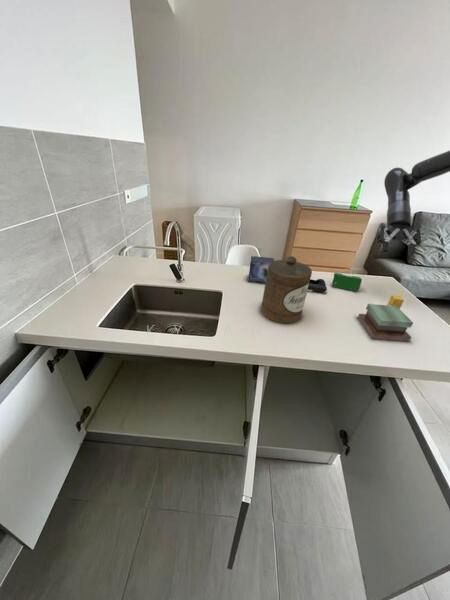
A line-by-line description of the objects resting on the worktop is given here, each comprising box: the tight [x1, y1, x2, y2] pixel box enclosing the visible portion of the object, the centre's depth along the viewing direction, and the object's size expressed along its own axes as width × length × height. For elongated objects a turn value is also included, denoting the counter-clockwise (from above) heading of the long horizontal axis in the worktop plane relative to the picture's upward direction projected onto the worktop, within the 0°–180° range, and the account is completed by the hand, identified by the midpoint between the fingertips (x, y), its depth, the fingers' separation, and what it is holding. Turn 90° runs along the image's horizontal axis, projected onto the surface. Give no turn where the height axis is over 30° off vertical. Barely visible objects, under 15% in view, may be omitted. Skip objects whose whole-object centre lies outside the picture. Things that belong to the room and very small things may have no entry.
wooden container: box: [260, 255, 313, 324], centre depth 86 cm, size 15×15×22 cm
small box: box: [247, 255, 275, 284], centre depth 111 cm, size 11×6×10 cm, turn 83°
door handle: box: [307, 278, 328, 293], centre depth 112 cm, size 3×20×16 cm
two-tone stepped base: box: [357, 303, 414, 342], centre depth 84 cm, size 12×12×7 cm
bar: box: [386, 294, 405, 310], centre depth 90 cm, size 3×3×9 cm
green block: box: [331, 272, 363, 292], centre depth 111 cm, size 12×6×9 cm, turn 62°
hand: (398, 253), depth 91 cm, fingers open, 8 cm apart
